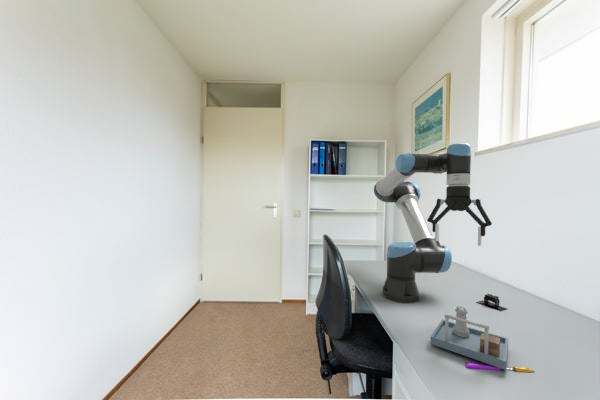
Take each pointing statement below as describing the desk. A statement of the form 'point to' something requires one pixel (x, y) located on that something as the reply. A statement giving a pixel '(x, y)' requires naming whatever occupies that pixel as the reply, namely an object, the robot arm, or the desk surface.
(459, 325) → the rook chess piece
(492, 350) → the walnut block
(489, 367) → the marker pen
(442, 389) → the desk surface
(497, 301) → the black piece
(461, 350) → the tray
